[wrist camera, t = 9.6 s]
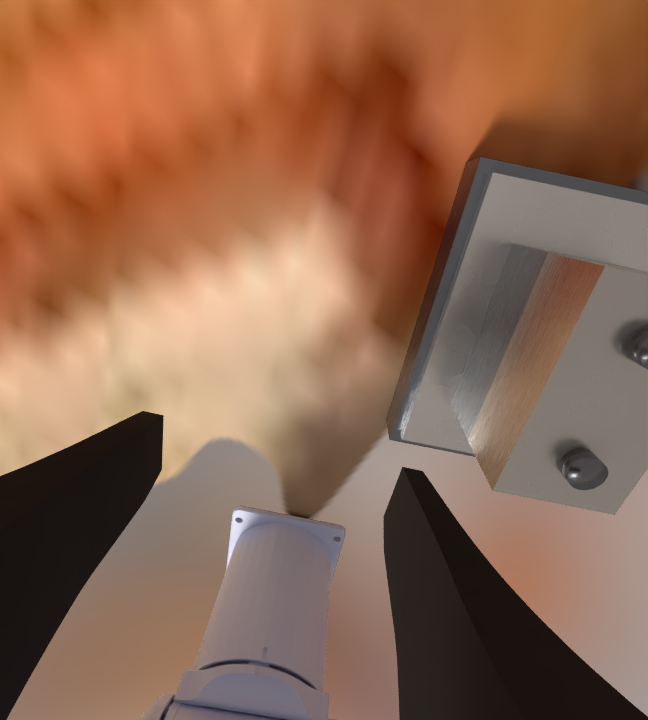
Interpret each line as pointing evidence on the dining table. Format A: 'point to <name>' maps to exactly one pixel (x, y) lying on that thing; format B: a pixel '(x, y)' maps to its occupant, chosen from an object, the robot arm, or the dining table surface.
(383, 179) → the dining table surface
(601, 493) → the housing
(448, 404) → the panel
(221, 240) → the dining table surface
